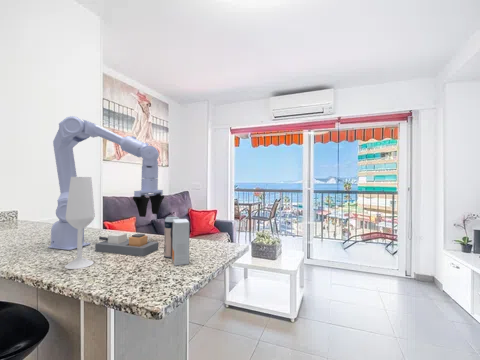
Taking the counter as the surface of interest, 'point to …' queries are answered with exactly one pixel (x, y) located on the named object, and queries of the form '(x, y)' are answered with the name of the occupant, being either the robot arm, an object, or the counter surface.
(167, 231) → the beer can
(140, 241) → the orange plug
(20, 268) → the counter surface
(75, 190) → the champagne flute
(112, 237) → the socket strip
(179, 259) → the skincare box
